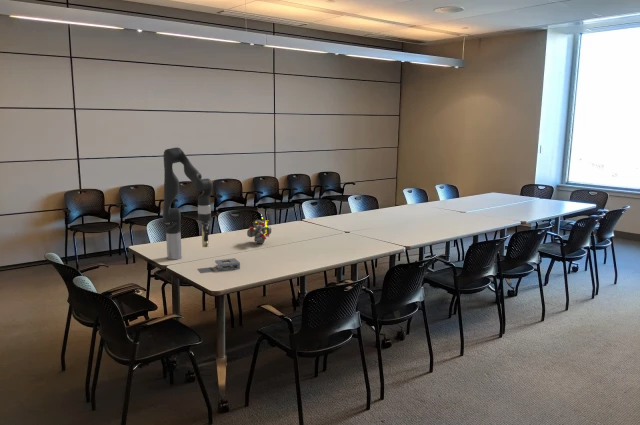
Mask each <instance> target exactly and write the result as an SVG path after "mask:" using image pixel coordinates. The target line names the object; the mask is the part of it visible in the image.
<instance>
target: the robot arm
mask: <svg viewBox="0 0 640 425" xmlns="http://www.w3.org/2000/svg"><path fill="white" fill-rule="evenodd" d="M177 163H180V164H182V165H183V172H184V175H185V176H186V178H188V179H189V180H190V182H191V183H192V185H193V187H194V189H195V190H196V191H198V192H202V193H201V194H199V195H198V196H197V220H198V221H200V223H199V224H200V231H201V233H202V228H203V232H204V241H205V242H206V241H208V242H209V235H210V227H211V226H210V224H209V221H211V220H212V211H211V210H212V209H211V195H212V191H213V186H214V185H213V181H212V179H210V178H202V177H203V176H202V173H201V172H199V170H198V169H197V168H196V167H195V166H194V165H193V164H192V163H191V161H190V159H189V158H188V156H187V155H186V154H185V152H184V151H183V149H181V148H180V147H172V148H166V149H165V150H164V151H163V167H164V170H163V171H164V172H163V173H164V180H163V209H162V220H163V222H164V223H165V224H172V223H173V224H172V225H170V226H168V227H167V228H166V229H165V237H166V255H167V258H166V259H168V260H179V259H181V258H182V257H183V256H182V255H183V254H182V236H181V235H182V234H181V232H182V231H181V220H182V219H181V217H182V216H181V214H182V213H181V210H180V208H178V207H174V208H173V207H172V208H170V207H171V204H172V203H173V202H174V200H175V199H176V197H177V196H178V195H179V193H180V180H179V179H178V177H177V175H176V174H175V172H174V169H173V164H177ZM204 229H205V230H204ZM206 232H207V233H206Z"/></svg>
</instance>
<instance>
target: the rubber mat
mask: <svg viewBox="0 0 640 425" xmlns="http://www.w3.org/2000/svg"><path fill="white" fill-rule="evenodd" d="M196 270H197V271H198V272H199V273H200V274H206V273H214V272H216V270H215V269H214V268H213V267H202V268H197V269H196Z"/></svg>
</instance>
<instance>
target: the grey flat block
mask: <svg viewBox="0 0 640 425" xmlns="http://www.w3.org/2000/svg"><path fill="white" fill-rule="evenodd" d="M214 263H215V265H214V267H215V268H216V269H217V270H218V271H219V272H222V271H223V272H225V271H233V270H240V269H241V263H240V261H239V260H237V259H236V258H226V259H225V258H224V259H217V260H214Z"/></svg>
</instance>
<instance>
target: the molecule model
mask: <svg viewBox="0 0 640 425" xmlns="http://www.w3.org/2000/svg"><path fill="white" fill-rule="evenodd" d="M260 216H263V214H261V215H260ZM262 219H264V217H261V219H255V220H254V221H253V222H252V223H253V225H252V226H249V229H247V231H246V233H247V234H246V235H247V237H248V238H254V239H253V240H254V242H256V243H257V244H262V245H263V244H264V243H265V240H267V237H268V238H269V237H270V235H271V233H272V229H273V230H274V228H272V227H271V226H268V221H262ZM246 224H247V222H246Z"/></svg>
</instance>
